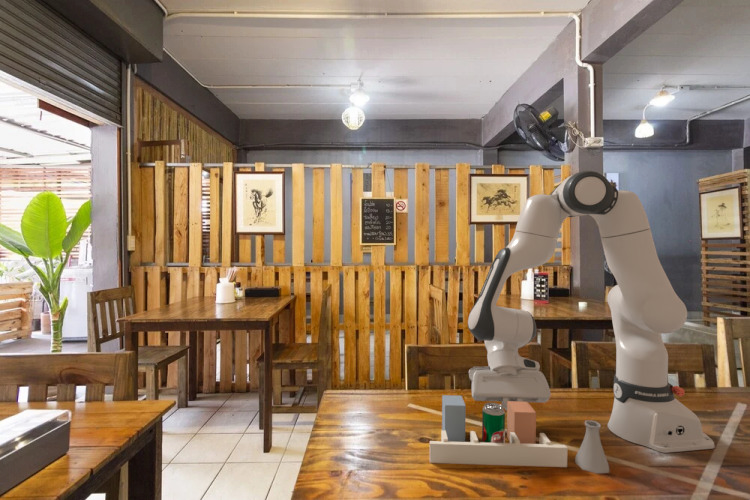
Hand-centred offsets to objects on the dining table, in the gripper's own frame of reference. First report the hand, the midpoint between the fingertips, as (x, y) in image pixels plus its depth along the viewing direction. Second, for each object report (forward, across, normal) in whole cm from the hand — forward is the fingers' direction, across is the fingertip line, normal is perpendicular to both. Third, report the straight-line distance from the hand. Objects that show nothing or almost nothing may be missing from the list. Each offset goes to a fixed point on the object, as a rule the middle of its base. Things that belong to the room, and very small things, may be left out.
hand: (515, 417), depth 100 cm
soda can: (+11, -8, -4) cm, 14 cm away
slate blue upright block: (+4, -16, +2) cm, 17 cm away
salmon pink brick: (+6, 0, 0) cm, 6 cm away
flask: (+13, +13, -5) cm, 19 cm away
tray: (+8, -8, -1) cm, 11 cm away
